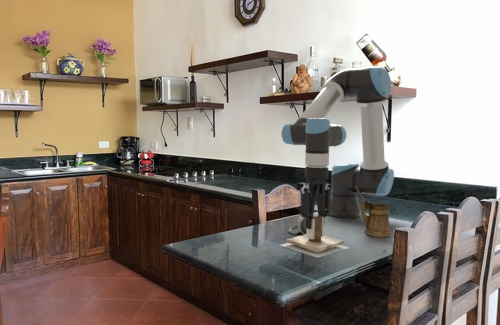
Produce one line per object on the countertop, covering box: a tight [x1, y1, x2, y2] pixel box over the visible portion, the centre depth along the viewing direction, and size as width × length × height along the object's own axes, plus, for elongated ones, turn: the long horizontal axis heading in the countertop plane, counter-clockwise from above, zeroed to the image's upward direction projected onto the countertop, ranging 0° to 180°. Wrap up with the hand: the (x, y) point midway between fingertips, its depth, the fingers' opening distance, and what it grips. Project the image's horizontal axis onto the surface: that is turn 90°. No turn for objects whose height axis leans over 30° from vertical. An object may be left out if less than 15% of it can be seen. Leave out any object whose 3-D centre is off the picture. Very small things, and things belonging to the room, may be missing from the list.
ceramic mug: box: [289, 214, 310, 235], centre depth 148 cm, size 11×8×8 cm
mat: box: [280, 242, 350, 259], centre depth 131 cm, size 16×16×1 cm
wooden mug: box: [355, 186, 392, 238], centre depth 148 cm, size 9×14×18 cm, turn 82°
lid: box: [286, 214, 344, 252], centre depth 131 cm, size 13×13×9 cm
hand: (315, 236), depth 131 cm, fingers closed on lid, 4 cm apart
